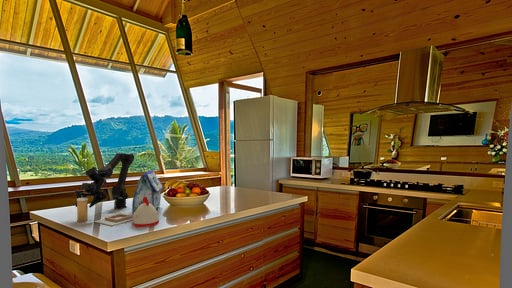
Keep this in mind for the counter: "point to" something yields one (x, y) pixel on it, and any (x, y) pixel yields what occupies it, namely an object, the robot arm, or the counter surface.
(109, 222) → the socket board
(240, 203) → the counter surface
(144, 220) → the kitchen timer
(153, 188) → the lunch bag
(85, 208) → the beige cylinder
